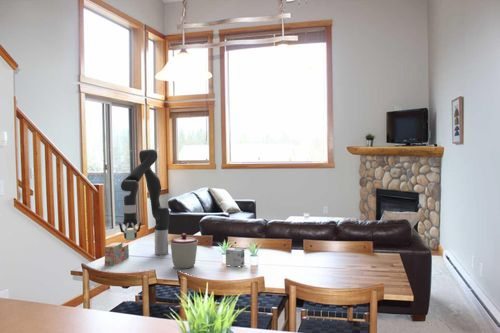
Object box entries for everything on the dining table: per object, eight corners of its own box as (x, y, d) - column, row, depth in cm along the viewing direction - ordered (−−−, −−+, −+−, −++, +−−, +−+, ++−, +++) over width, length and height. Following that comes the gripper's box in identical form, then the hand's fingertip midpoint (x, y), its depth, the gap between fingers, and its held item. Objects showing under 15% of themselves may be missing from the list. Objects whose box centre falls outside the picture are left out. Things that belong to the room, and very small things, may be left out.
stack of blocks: (120, 257, 293) (120, 239, 293) (128, 257, 292) (128, 239, 292) (104, 265, 272) (104, 246, 272) (113, 266, 271) (113, 246, 271)
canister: (197, 262, 280) (197, 230, 279) (199, 270, 262) (199, 235, 262) (169, 263, 277) (169, 231, 276) (169, 271, 259) (169, 236, 258)
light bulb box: (244, 265, 274) (244, 248, 274) (241, 267, 268) (241, 250, 268) (229, 263, 278) (229, 247, 278) (225, 266, 272) (225, 249, 271)
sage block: (134, 238, 272) (134, 229, 272) (134, 240, 267) (134, 230, 267) (126, 238, 271) (126, 229, 271) (126, 240, 266) (126, 230, 266)
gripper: (141, 210, 274) (142, 236, 275) (118, 211, 271) (119, 238, 271) (141, 212, 267) (142, 239, 267) (117, 213, 263) (118, 240, 264)
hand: (130, 238), depth 269 cm, fingers closed on sage block, 5 cm apart
